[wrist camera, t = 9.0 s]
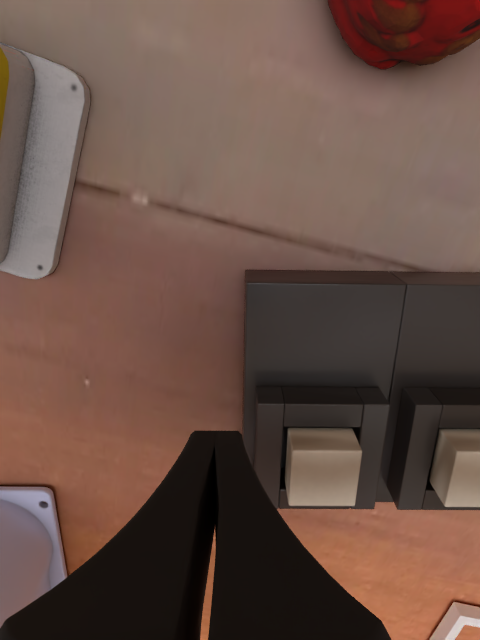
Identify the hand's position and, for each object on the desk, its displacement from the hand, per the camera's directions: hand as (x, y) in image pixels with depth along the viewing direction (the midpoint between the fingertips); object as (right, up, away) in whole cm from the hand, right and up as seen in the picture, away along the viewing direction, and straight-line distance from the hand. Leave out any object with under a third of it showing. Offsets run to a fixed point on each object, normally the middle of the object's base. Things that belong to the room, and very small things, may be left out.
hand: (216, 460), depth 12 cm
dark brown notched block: (+11, +1, +11) cm, 16 cm away
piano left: (+4, +1, +11) cm, 12 cm away
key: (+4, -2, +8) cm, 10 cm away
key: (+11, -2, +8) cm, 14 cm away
